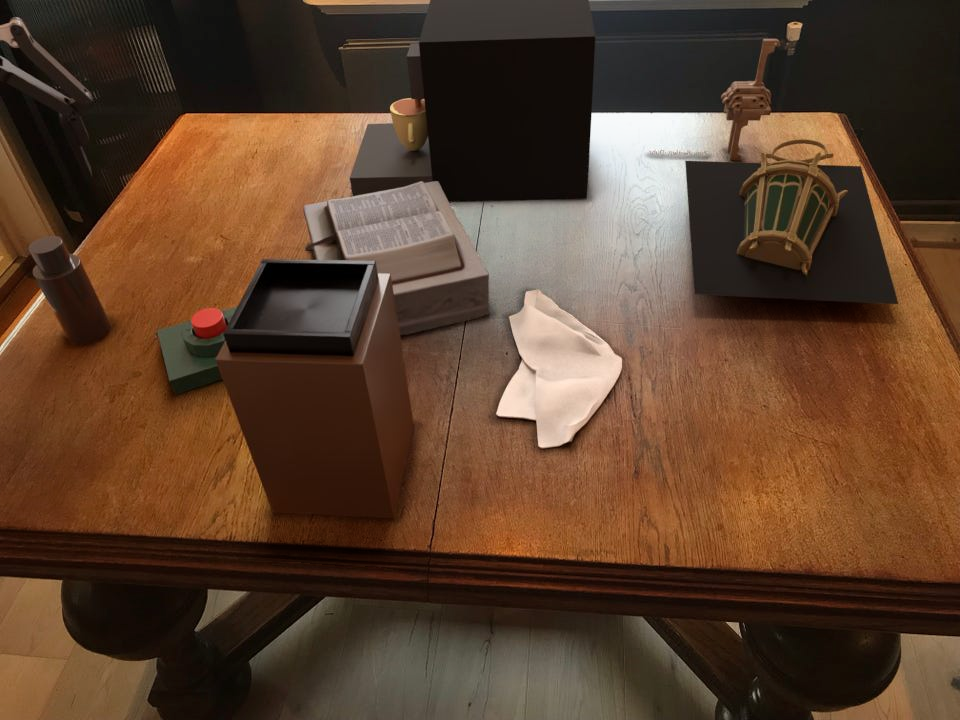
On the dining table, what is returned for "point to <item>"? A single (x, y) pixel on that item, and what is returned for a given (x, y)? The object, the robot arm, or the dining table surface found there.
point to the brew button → (208, 323)
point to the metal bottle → (68, 291)
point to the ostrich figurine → (744, 103)
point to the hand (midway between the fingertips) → (22, 189)
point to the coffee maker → (491, 105)
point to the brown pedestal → (321, 386)
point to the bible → (407, 251)
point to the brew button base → (191, 355)
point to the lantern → (785, 231)
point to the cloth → (557, 371)
